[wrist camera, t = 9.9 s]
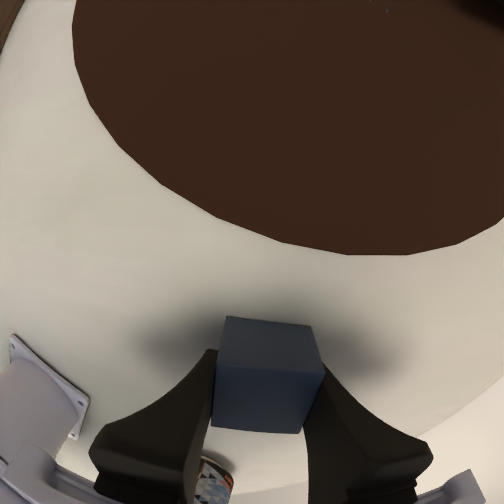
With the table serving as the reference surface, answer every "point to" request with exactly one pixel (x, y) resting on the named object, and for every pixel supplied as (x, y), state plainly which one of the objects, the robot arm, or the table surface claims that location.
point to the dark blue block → (265, 376)
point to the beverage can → (212, 483)
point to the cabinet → (7, 17)
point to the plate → (309, 113)
